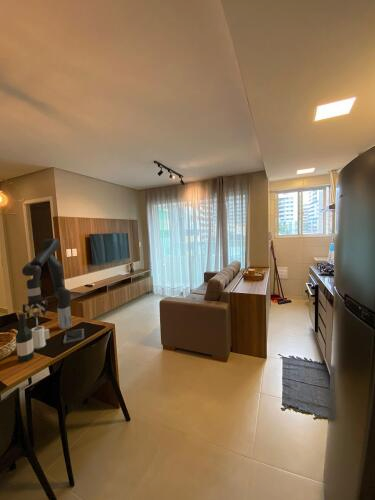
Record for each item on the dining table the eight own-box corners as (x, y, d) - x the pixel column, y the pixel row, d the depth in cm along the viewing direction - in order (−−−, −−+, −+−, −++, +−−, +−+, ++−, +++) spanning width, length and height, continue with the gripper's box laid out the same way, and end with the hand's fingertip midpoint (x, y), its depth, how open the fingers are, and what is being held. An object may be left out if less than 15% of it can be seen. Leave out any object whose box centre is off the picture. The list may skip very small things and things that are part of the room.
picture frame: (65, 334, 168) (63, 344, 152) (65, 331, 168) (63, 342, 152) (84, 330, 174) (84, 340, 158) (83, 327, 174) (83, 337, 158)
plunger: (42, 327, 153) (40, 310, 152) (41, 330, 148) (40, 312, 147) (33, 329, 150) (32, 312, 149) (32, 332, 146) (30, 314, 144)
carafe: (50, 341, 157) (48, 324, 156) (49, 345, 150) (47, 328, 149) (33, 345, 152) (31, 327, 151) (32, 350, 145) (30, 332, 144)
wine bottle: (24, 355, 139) (19, 311, 137) (37, 354, 140) (32, 310, 137) (14, 363, 131) (9, 316, 128) (29, 362, 132) (24, 315, 129)
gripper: (46, 291, 154) (48, 312, 155) (22, 294, 147) (24, 317, 148) (46, 293, 147) (48, 316, 149) (20, 297, 140) (22, 320, 142)
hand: (36, 316), depth 148 cm, fingers open, 8 cm apart
